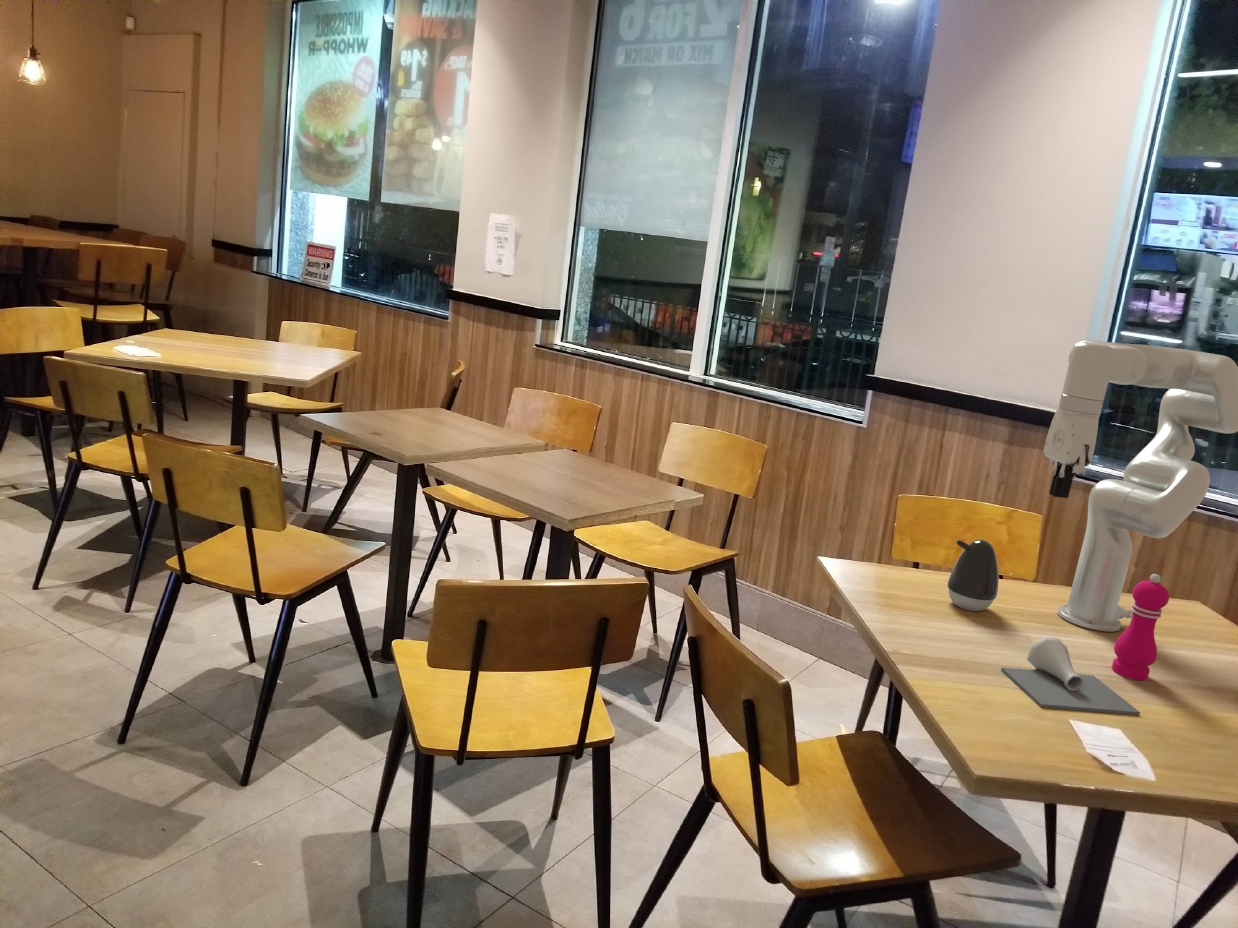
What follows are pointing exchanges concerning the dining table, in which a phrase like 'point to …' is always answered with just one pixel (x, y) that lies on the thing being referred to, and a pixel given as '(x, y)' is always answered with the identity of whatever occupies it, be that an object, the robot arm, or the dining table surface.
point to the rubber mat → (1069, 692)
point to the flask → (1055, 661)
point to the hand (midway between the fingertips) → (1058, 496)
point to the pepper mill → (1141, 631)
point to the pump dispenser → (974, 576)
